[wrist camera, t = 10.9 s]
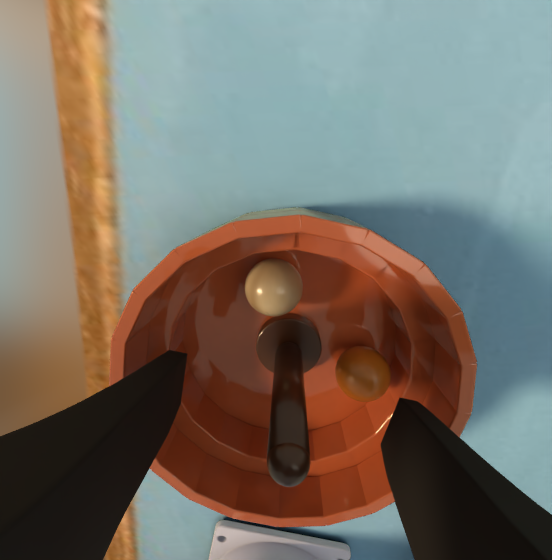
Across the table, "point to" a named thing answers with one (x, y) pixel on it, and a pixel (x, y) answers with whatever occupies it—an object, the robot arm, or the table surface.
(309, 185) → the table surface
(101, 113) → the table surface
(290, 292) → the cream bead
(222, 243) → the bowl
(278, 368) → the brown peg
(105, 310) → the table surface
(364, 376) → the amber bead
